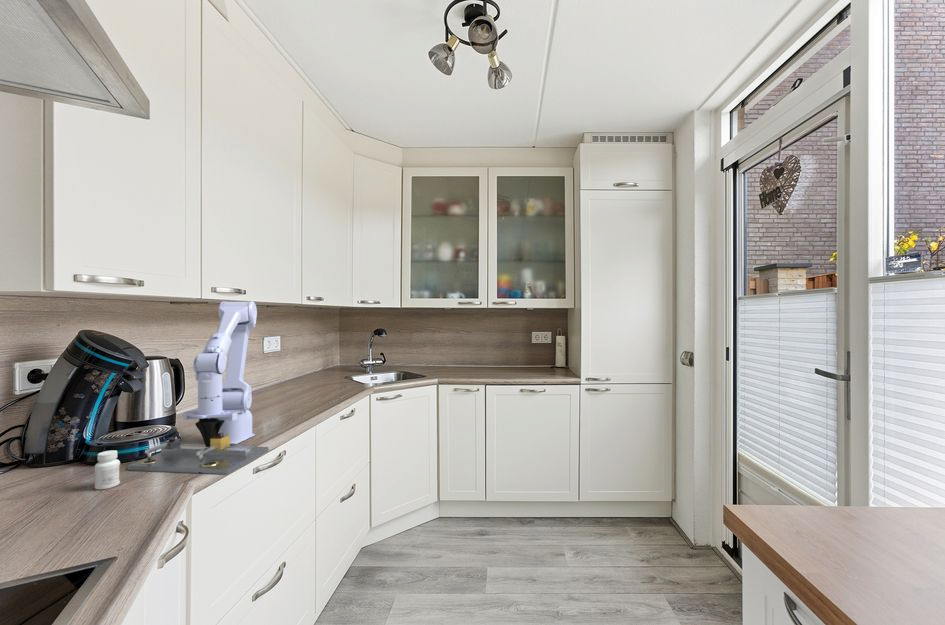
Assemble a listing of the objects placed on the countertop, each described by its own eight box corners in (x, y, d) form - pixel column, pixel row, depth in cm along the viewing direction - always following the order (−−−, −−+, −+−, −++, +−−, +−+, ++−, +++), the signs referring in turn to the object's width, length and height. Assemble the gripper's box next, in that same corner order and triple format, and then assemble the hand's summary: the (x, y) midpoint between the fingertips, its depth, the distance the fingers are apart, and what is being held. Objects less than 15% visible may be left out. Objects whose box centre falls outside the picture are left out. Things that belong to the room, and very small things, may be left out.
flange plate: (182, 448, 121) (182, 443, 121) (268, 451, 118) (268, 446, 118) (128, 470, 104) (128, 464, 104) (227, 474, 101) (227, 468, 101)
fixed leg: (172, 448, 116) (172, 436, 116) (180, 448, 115) (180, 436, 115) (142, 460, 106) (142, 447, 106) (151, 460, 106) (151, 447, 106)
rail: (166, 451, 115) (166, 445, 115) (250, 454, 112) (250, 448, 112) (160, 453, 113) (160, 447, 113) (245, 456, 111) (245, 450, 111)
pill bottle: (125, 482, 97) (125, 449, 97) (106, 490, 92) (106, 456, 92) (108, 481, 97) (108, 449, 97) (89, 489, 93) (89, 455, 93)
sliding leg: (219, 450, 114) (219, 431, 114) (229, 450, 114) (229, 432, 114) (193, 462, 105) (192, 442, 105) (203, 463, 104) (203, 443, 104)
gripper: (174, 398, 109) (174, 449, 109) (224, 400, 108) (224, 451, 108) (194, 393, 116) (194, 441, 116) (242, 394, 115) (242, 443, 115)
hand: (210, 445), depth 113 cm, fingers closed
